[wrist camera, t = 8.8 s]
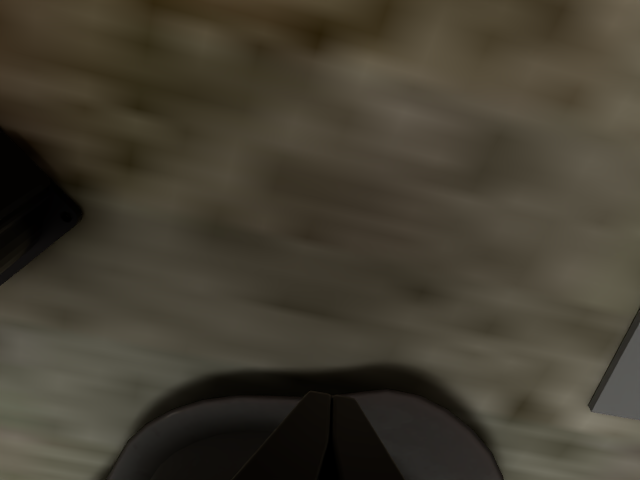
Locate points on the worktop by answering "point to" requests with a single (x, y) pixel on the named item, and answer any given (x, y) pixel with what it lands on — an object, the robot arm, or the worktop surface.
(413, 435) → the casserole
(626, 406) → the mat
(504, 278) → the worktop surface
